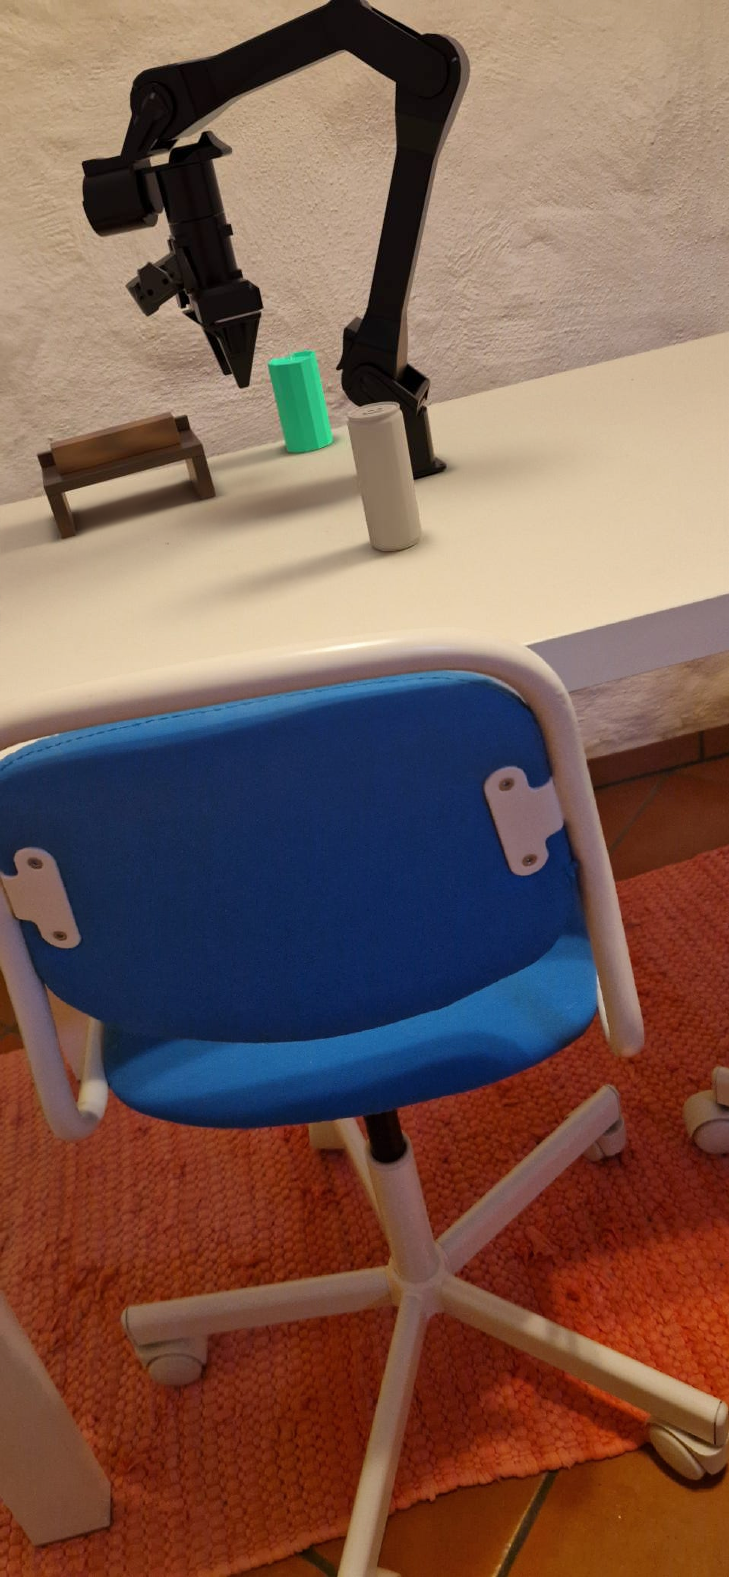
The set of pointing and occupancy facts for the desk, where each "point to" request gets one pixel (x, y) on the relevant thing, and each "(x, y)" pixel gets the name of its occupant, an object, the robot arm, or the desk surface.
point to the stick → (115, 443)
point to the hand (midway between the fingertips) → (236, 381)
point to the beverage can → (385, 475)
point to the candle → (300, 401)
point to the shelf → (124, 472)
